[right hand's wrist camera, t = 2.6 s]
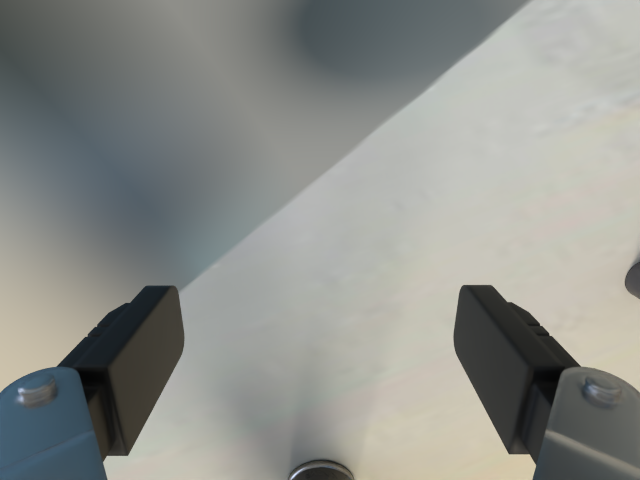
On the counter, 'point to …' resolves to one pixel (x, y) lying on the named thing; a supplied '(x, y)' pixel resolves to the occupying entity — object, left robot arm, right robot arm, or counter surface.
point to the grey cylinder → (634, 281)
